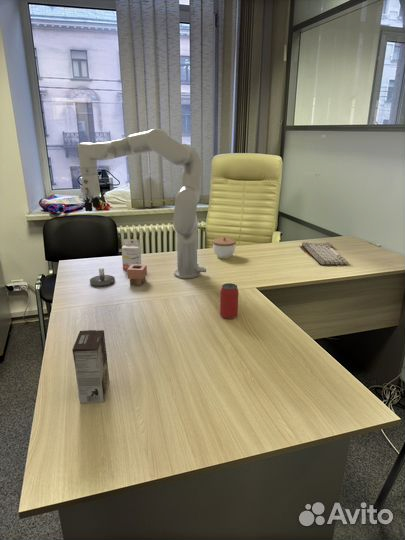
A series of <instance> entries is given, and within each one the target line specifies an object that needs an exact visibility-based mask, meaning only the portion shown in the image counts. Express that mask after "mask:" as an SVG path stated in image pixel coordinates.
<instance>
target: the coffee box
mask: <svg viewBox="0 0 405 540" xmlns="http://www.w3.org/2000/svg"><path fill="white" fill-rule="evenodd" d="M72 355H73V356H72V357H73V362H74V369H75V376H76V384H77V391H78V399H79V404H94V403H95V404H98V403H104V402H105V401H106V396H107V392H108V389H109V388H108V387H109V383H110V374H109V364H108V353H107V345H106V337H105V330H104V329H101V330H97V329H93V330H91V329H88V330H79V333H78V334H77V337H76V340H75V343H74V345H73V348H72Z"/></svg>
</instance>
